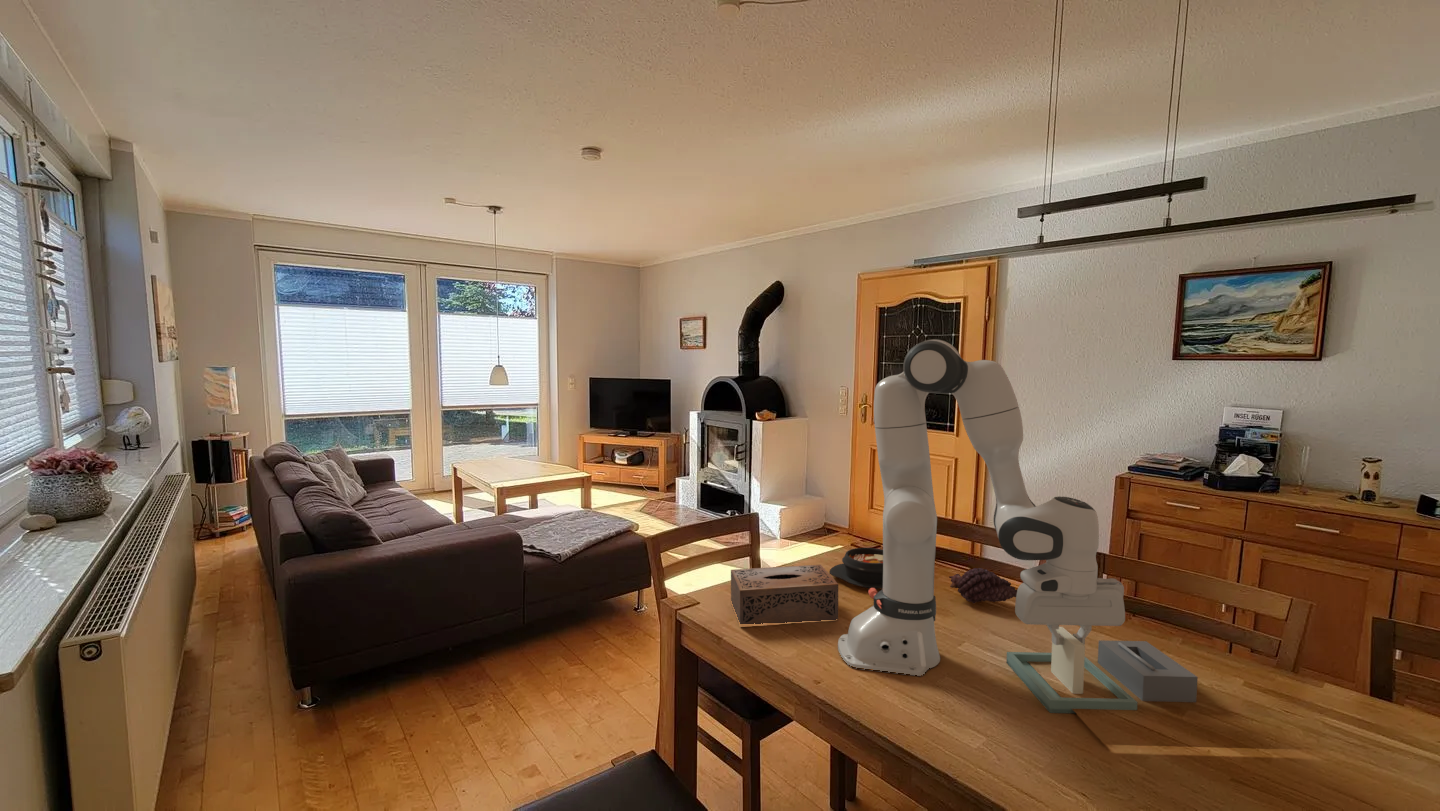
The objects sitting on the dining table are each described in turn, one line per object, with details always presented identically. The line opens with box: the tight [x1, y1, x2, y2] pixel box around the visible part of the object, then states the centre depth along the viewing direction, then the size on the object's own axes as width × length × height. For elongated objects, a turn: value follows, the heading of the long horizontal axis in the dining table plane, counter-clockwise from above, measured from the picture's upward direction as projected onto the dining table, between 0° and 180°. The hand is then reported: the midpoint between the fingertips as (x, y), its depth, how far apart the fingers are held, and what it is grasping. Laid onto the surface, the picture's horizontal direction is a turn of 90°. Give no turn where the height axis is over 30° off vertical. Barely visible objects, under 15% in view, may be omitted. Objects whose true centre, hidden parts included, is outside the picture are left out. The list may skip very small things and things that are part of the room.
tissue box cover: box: [730, 564, 839, 624], centre depth 151 cm, size 26×14×10 cm, turn 98°
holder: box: [1097, 640, 1199, 703], centre depth 116 cm, size 10×14×7 cm
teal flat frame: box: [1005, 651, 1138, 714], centre depth 116 cm, size 16×18×2 cm
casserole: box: [828, 547, 883, 590], centre depth 172 cm, size 25×19×8 cm
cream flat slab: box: [1050, 626, 1086, 695], centre depth 115 cm, size 2×8×10 cm, turn 177°
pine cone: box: [948, 567, 1018, 604], centre depth 155 cm, size 18×10×10 cm, turn 56°
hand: (1067, 643), depth 115 cm, fingers open, 3 cm apart
